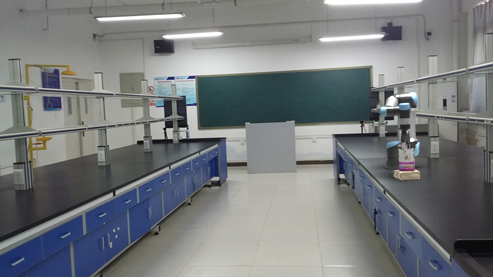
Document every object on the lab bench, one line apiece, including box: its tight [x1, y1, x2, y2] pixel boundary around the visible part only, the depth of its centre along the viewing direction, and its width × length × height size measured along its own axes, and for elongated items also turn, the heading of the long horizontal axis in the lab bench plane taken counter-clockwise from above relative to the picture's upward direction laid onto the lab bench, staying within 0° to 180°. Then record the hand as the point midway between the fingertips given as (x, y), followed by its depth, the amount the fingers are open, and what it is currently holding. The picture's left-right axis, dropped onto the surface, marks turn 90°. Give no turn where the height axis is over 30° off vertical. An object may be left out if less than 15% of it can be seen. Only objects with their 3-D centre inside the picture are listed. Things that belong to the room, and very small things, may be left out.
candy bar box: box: [398, 149, 416, 171], centre depth 314 cm, size 11×5×16 cm, turn 67°
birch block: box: [393, 169, 421, 181], centre depth 314 cm, size 14×14×6 cm
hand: (405, 152), depth 313 cm, fingers open, 13 cm apart
